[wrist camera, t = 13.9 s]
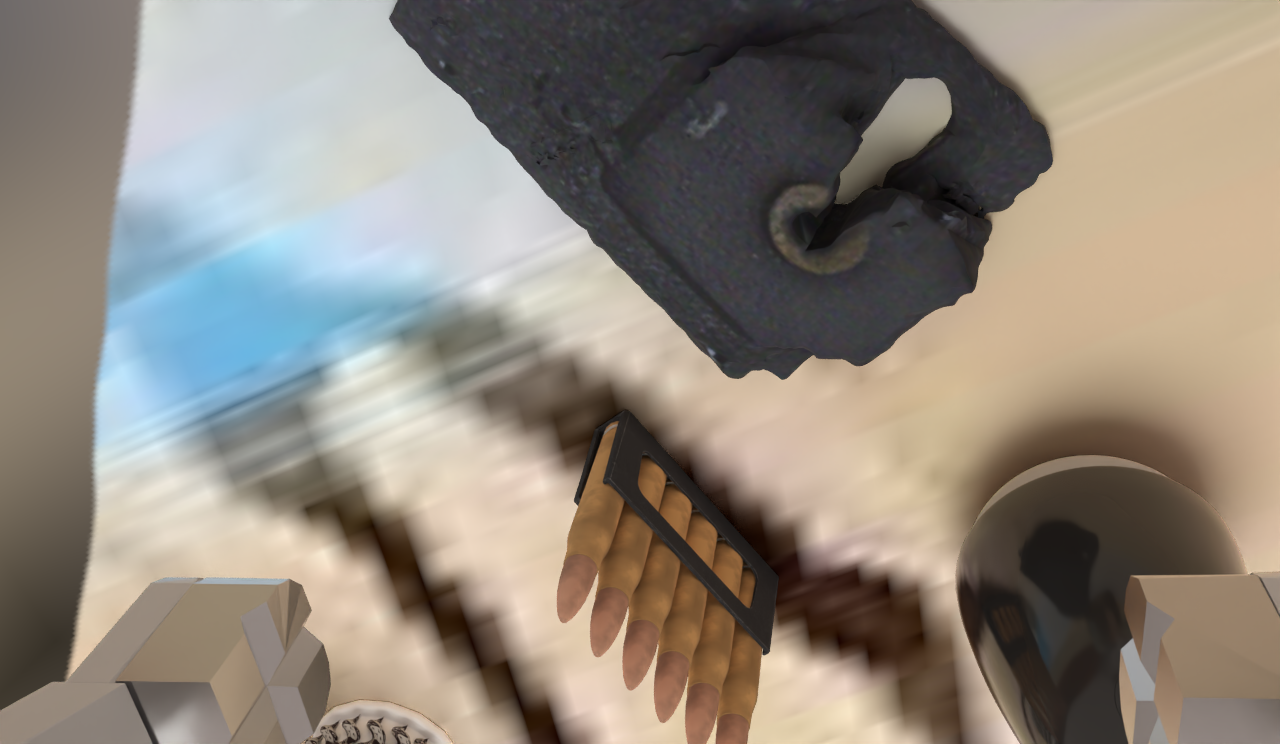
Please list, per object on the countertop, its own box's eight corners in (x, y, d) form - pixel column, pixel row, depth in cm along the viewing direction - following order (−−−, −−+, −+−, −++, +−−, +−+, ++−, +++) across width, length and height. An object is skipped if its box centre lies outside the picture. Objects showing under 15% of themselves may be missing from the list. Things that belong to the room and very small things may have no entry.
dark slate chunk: (655, -344, 34) (629, -361, 30) (1083, 170, 39) (1111, 217, 35) (361, 8, 41) (307, 35, 37) (761, 408, 46) (753, 471, 42)
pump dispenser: (1227, 408, 42) (1403, 697, 29) (1192, 621, 47) (1330, 953, 34) (951, 411, 44) (997, 683, 31) (944, 615, 49) (982, 926, 36)
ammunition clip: (593, 429, 47) (524, 614, 37) (626, 407, 46) (564, 590, 36) (746, 595, 50) (722, 811, 40) (780, 578, 49) (763, 792, 39)
